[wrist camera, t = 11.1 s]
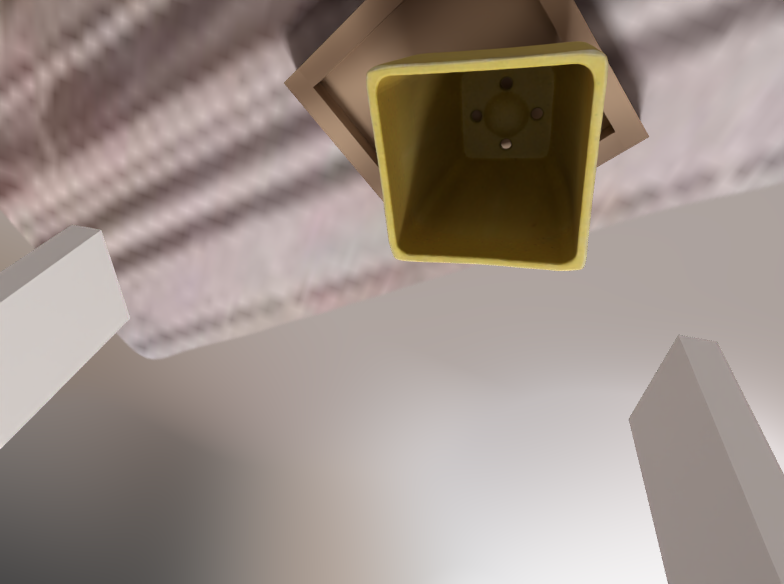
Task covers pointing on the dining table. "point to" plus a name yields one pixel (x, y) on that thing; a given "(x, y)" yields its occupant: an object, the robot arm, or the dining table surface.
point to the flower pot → (490, 153)
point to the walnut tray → (434, 35)
